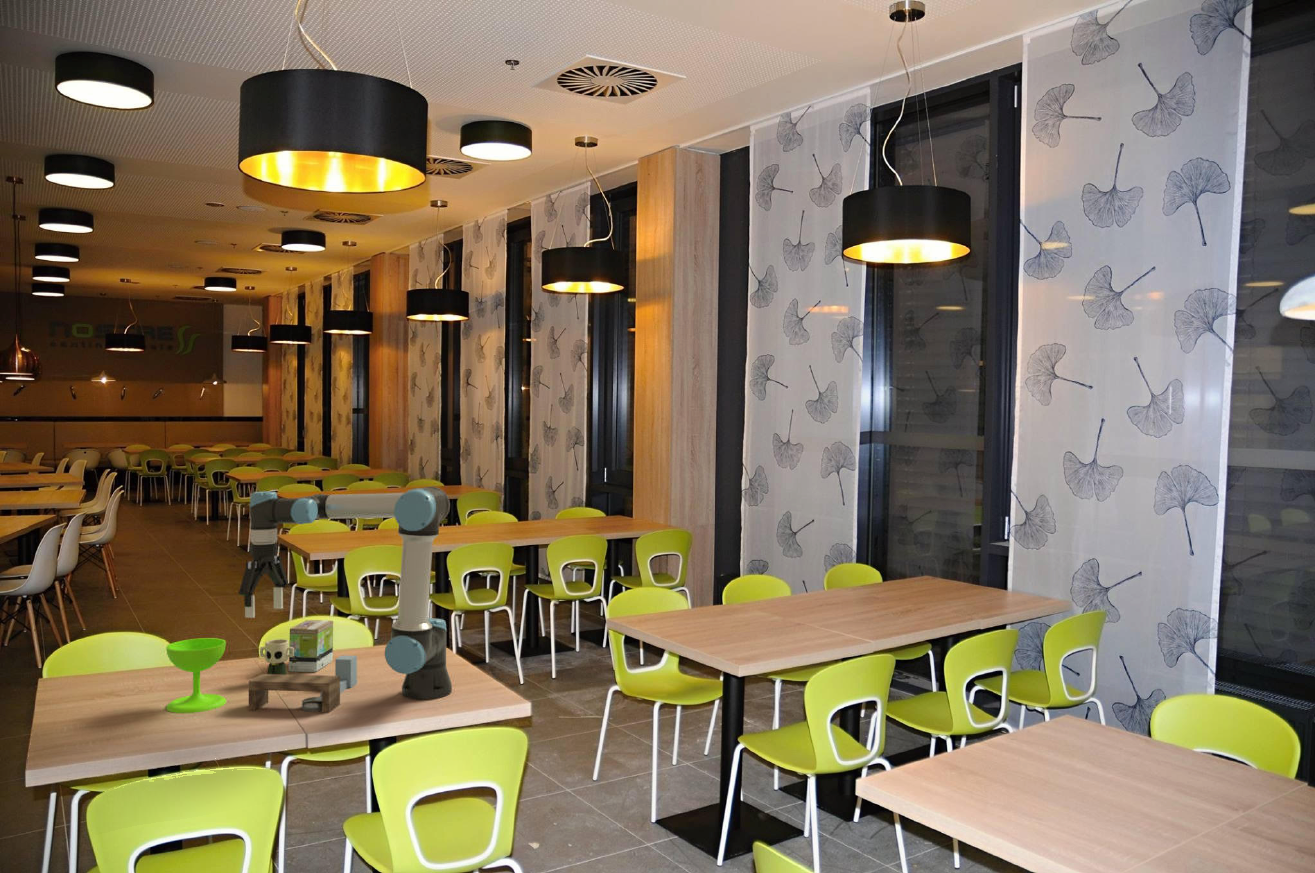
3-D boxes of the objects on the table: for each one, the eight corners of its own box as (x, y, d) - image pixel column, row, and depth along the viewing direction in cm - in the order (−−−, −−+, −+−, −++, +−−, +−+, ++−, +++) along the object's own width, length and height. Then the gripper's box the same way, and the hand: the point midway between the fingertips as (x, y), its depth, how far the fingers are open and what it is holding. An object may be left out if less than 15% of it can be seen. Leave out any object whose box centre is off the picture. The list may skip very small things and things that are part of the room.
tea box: (317, 672, 317) (317, 628, 316) (287, 672, 317) (287, 628, 317) (333, 661, 332) (333, 619, 332) (305, 660, 332) (305, 618, 332)
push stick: (341, 683, 304) (341, 655, 304) (356, 683, 304) (356, 655, 304) (317, 700, 286) (317, 670, 286) (333, 700, 285) (333, 670, 285)
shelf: (339, 704, 282) (339, 675, 281) (328, 712, 274) (328, 683, 273) (261, 702, 283) (261, 673, 283) (248, 710, 275) (248, 681, 275)
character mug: (255, 684, 302) (255, 643, 302) (264, 678, 309) (264, 638, 309) (289, 684, 302) (289, 644, 302) (297, 678, 309) (297, 639, 309)
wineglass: (157, 705, 280) (157, 644, 280) (212, 693, 292) (212, 635, 291) (179, 716, 269) (179, 653, 269) (235, 704, 281) (235, 644, 281)
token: (331, 705, 281) (331, 696, 281) (321, 712, 274) (321, 704, 274) (308, 704, 282) (308, 696, 282) (297, 711, 275) (297, 703, 275)
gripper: (278, 537, 298) (278, 604, 299) (225, 547, 274) (226, 620, 274) (299, 538, 297) (299, 605, 297) (248, 548, 272) (248, 621, 273)
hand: (264, 612), depth 286 cm, fingers open, 13 cm apart
